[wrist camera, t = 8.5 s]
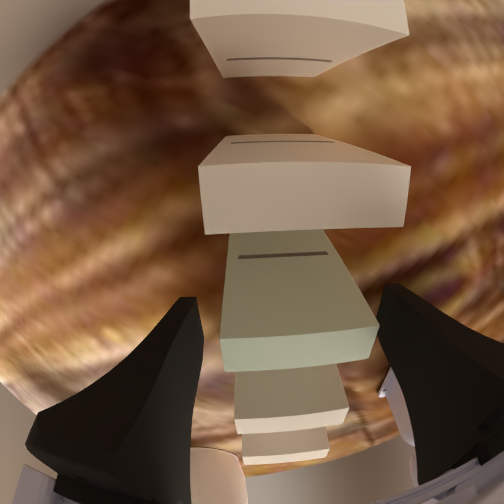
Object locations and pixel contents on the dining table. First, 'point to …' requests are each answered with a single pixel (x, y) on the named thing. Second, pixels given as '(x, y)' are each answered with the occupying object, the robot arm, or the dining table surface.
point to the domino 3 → (291, 304)
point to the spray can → (216, 477)
